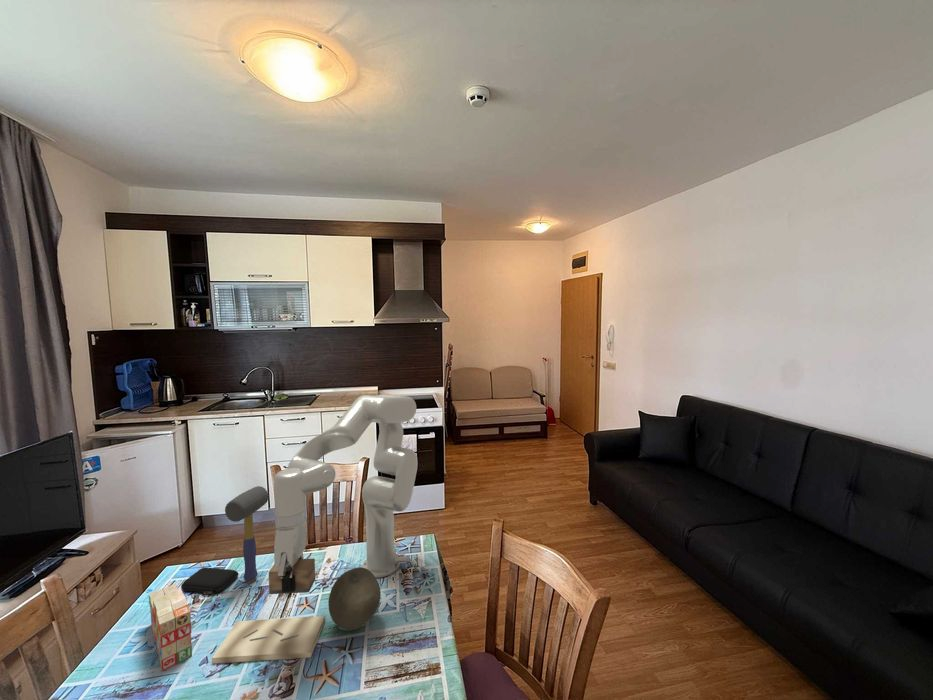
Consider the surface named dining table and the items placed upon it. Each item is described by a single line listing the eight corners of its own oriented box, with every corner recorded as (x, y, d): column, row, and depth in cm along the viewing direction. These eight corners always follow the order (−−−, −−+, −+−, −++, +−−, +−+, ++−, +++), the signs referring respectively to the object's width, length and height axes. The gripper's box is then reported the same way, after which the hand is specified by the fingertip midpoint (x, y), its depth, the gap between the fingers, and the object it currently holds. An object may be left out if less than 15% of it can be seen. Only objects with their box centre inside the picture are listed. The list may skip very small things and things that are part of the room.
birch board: (325, 621, 108) (324, 616, 108) (310, 657, 96) (310, 651, 96) (237, 626, 107) (237, 621, 107) (212, 663, 95) (211, 657, 95)
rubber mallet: (247, 594, 120) (243, 501, 118) (226, 592, 121) (221, 499, 119) (273, 569, 132) (270, 485, 130) (254, 567, 133) (250, 483, 132)
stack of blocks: (150, 625, 108) (148, 583, 107) (177, 613, 112) (175, 572, 112) (161, 672, 93) (159, 624, 92) (193, 656, 97) (190, 610, 97)
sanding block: (315, 579, 104) (314, 558, 104) (308, 592, 99) (308, 570, 99) (277, 581, 104) (276, 560, 103) (269, 594, 99) (268, 571, 98)
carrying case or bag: (174, 595, 120) (216, 599, 118) (174, 585, 120) (216, 589, 118) (202, 573, 131) (241, 576, 129) (202, 564, 131) (241, 568, 129)
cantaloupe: (324, 649, 99) (322, 593, 98) (334, 609, 113) (332, 560, 112) (379, 641, 101) (378, 587, 100) (382, 603, 115) (381, 555, 114)
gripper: (289, 502, 109) (291, 564, 110) (260, 534, 92) (263, 607, 93) (316, 502, 109) (318, 563, 110) (292, 533, 92) (295, 606, 93)
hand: (293, 583), depth 101 cm, fingers closed on sanding block, 5 cm apart
